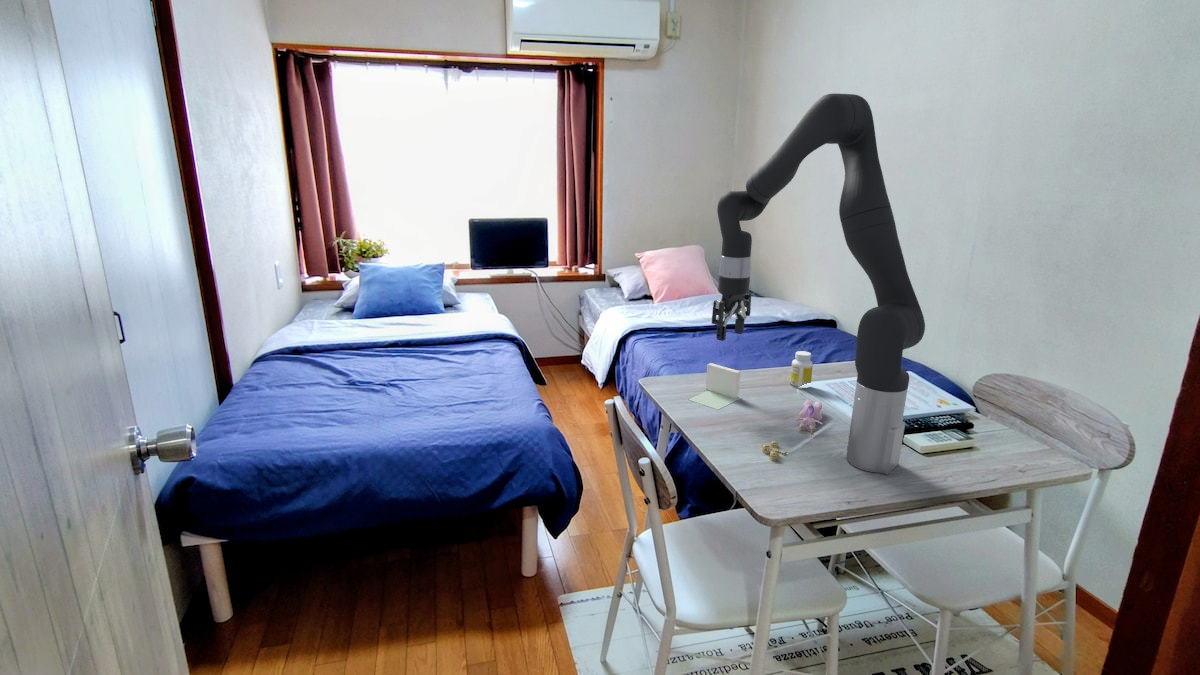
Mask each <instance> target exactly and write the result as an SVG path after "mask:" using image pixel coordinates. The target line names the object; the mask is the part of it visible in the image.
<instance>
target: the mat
mask: <svg viewBox="0 0 1200 675" xmlns="http://www.w3.org/2000/svg"><path fill="white" fill-rule="evenodd" d="M742 398H743V397H742V396H740V395H738V397H737V398H732V397H729V396H726V395H723V394H720V393H716V392H713V391H710V390H705V391H704V392H702V393H700V394H697V395H695V396H692V397H691V398H688V401H691V402H693V403H697V404H699V405H702V406H706V407H709V408H711V409H714V410H717V411H719V410H721V409H723V408H725V407H727V406H729V405H731V404H732V403H734V402H737V401H739V400H740V399H742Z"/></svg>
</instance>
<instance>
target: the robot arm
mask: <svg viewBox="0 0 1200 675" xmlns="http://www.w3.org/2000/svg"><path fill="white" fill-rule="evenodd" d="M793 128H794V129H792V130H791V132H790V134H789V135H788V136H787V137H786V139H784V141H783V142H782V144H780V146H779V147H778V148H777V149H776V150H775V152H774V153H773V154H772V155H771V156H770V157H768V159H767V160H766V161H765V162H764V163H762V165H760V167H758V168H757V169H756V170H755V171H754V172H753V173H752V174H751V175H750V176H749V177H748V179H747V181H746V184H745V189H746V190H740V191H739V190H738V191H737V190H733V191H731V190H729V191H727V192H725V193H723V194H722V195H721V197H720V198H719V200H718V204H717V208H716V209H717V212H716V213H717V219H718V222H719V226H720V233H721V237H722V239H721V240H722V242H721V257H720V262H719V269H718V270H719V272H718V286H717V290H718V293H720V294H721V298H720V299H721V300H718V299H715V300H714V301H713V304H712V313H711V315H712V316H711V324H712V325H716V340H718V341H722V342H724V341H726V339H727V338H726V336H727V324H728V323H729V320H731V319H732V317H733V315H734V316H735V324H734V333H735V334H737V335H742V334H744V332H745V331H744V329H745V320H747V317H750V316H751V306H752V293H749V292H750V281H751V272H752V271H751V270H752V269H751V268H752V267H751V266H752V265H751V264H752V263H751V262H752V261H751V256H752V254H751V253H752V243H753V242H752V241H753V238H752V237H753V236H752V234H751V233H750V232H748V231H745V230H743V229H742V227H741V224H740V223H741V222H744V221H752V220H754V219H756V218H758V217H759V216H760V215H761V214H762V213H763V211H764V210H765V209H766V208H767V205H768V204H770V201H771V199H772V198H774V197H775V196H776V195H777V194H778V193H779V192H781V191H782V190H783V189H785V187H786V186H788V185H789V183H791V182H792V180H793V179H794V177H795V176H796V174H797V172H798V170H799V168H800V166H801V163H802V162H803V161H804V159H806V157H808V156H809V155H810V154H811V153H812V152H814V151H816V150H818V149H819V148H820V147H823V146H824V145H826V144H828V145H829V144H830V145H831V144H832V145H833V144H835V145H838V148H839V150H840V155H841V159H842V163H843V167H844V168H843V169H844V181H843V186H842V190H841V191H842V192H841V195H840V200H839V207H838V209H839V210H838V213H839V220H840V223H841V228H842V231H843V232H842V233H843V236H844V240H845V243H846V246H847V247H848V249H849V251H850V253H851V254H852V255H853V258H854V259H855V260H856V262H857V263H858V264H859V266H860V267H861V268H862V270H863V271H864V272H865V274H866V275H867V276H868V278H869V280H870V283H871V284H872V287H873V290H874V295H875V300H876V305H877V306H875V307H872V308H870V309H868V310H867V311H865V312H864V314H863V315H862V317H861V319H860V321H859V324H858V328H857V333H856V334H857V336H856V343H855V345H856V346H855V347H856V348H855V358H854V365H855V368H856V374H857V378H856V382H855V383H856V385H855V391H854V398H853V406H852V413H851V419H850V420H851V421H850V427H849V434H848V442H847V448H846V455H845V456H846V457H845V458H846V460H847V462H848V463H849V464H850V465H852V466H853V467H856V468H857V469H860V470H862V471H865V472H871V473H881V474H883V475H884V474H885V475H889V474H891V472H892V471H893V470H895V469H896V467H897V466H898V465H899V463H900V459H901V458H900V457H901V450H902V445H903V439H904V434H905V433H904V432H905V428H906V422H905V421H904V420H903V417H904V415H905V414H904V413H905V407H906V401H907V396H908V389H909V384H910V383H909V382H910V375H909V372H908V371H907V370H905V369H904V368H902V364H903V363H902V361H903V353H904V350H907V349H910V348H913V347H915V346H916V345H918V344H919V343H920V342H921V341H922V339H923V338H924V335H925V331H926V323H925V317H924V314H923V311H922V309H921V306H920V302H919V300H918V298H917V295H916V292H915V290H914V288H913V284H912V282H911V279H910V277H909V273H908V270H907V269H908V268H907V265H906V263H905V257H904V254H903V250H902V247H901V243H900V240H899V236H898V231H897V225H896V222H895V217H894V213H893V209H892V206H891V203H890V198H889V196H888V193H887V192H888V191H887V188H886V187H887V186H886V184H885V178H884V175H883V171H882V166H881V162H880V158H879V152H878V146H877V144H878V143H877V139H876V138H877V137H876V131H875V130H876V129H875V123H874V116H873V112H872V109H871V107H870V104H869V102H868V101H867V100H866V98H864V97H863V96H861V95H858V94H851V93H850V94H849V93H828V94H824V95H822V96H821V97H819V98H818V99H817V100H816V101H815V102H814V103H813V104H812V105H811V106H810V107H809V108H808V109H807V111H806V112H805V114H804V115H803V116H802V117H801V118H800V120H799V122H797V124H796V126H795V127H793Z"/></svg>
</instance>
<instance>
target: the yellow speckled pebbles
mask: <svg viewBox="0 0 1200 675" xmlns="http://www.w3.org/2000/svg"><path fill="white" fill-rule="evenodd" d="M771 447H772V448H771ZM778 447H779V442H778V441H775V440H772V441H770V445H769V444H763V445H762V448H761V449H762V450H761V451H762V454H769V453H770V454H769V460H770V461H775V462H776V461H777V460H778V457H779V454H782V456H788V455H789V454H788V451H786V452H781V451H779V449H778ZM770 450H771V451H770Z"/></svg>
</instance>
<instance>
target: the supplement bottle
mask: <svg viewBox="0 0 1200 675" xmlns="http://www.w3.org/2000/svg"><path fill="white" fill-rule="evenodd" d="M794 355H795V356H794V357H795V359H792V361H791V369H790V370H791V371H790V379H789V386H790V387H792V388H795V389H798V388H799V387H800V386H802V385H804V384H807V383H811V384H812V377H813V376H812V375H813V365H814V364H813V362H812V361H811V359H812V353H811V352H809V351H805V350H798V351H796V352H795V354H794ZM798 390H799V389H798Z"/></svg>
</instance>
